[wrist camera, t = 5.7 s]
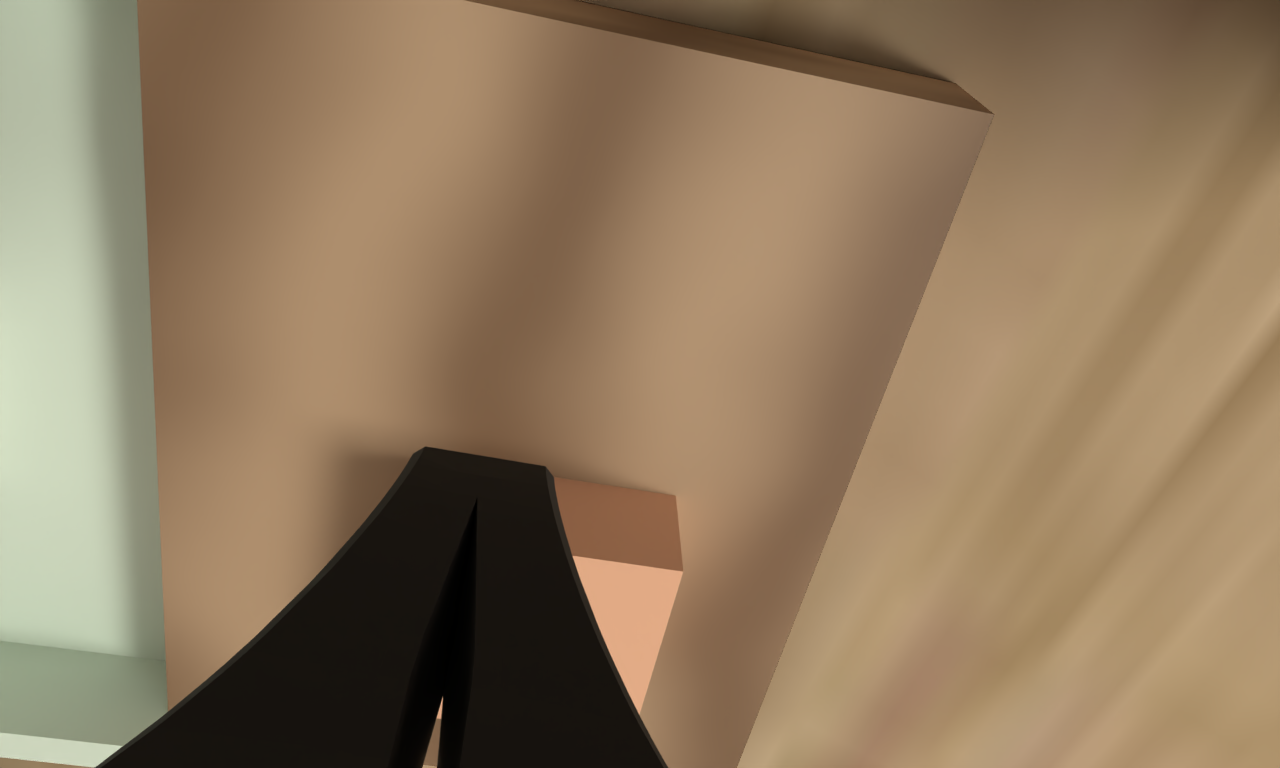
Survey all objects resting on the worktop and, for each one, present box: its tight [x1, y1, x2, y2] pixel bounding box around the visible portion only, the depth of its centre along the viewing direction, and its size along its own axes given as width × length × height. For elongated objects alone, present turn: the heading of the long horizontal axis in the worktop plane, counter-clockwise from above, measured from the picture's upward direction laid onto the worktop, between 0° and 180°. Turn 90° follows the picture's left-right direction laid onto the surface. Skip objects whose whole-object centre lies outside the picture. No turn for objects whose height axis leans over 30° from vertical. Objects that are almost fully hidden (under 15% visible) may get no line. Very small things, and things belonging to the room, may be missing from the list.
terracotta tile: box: [437, 477, 683, 719], centre depth 19 cm, size 4×4×2 cm
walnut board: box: [137, 0, 994, 768], centre depth 20 cm, size 13×17×2 cm
